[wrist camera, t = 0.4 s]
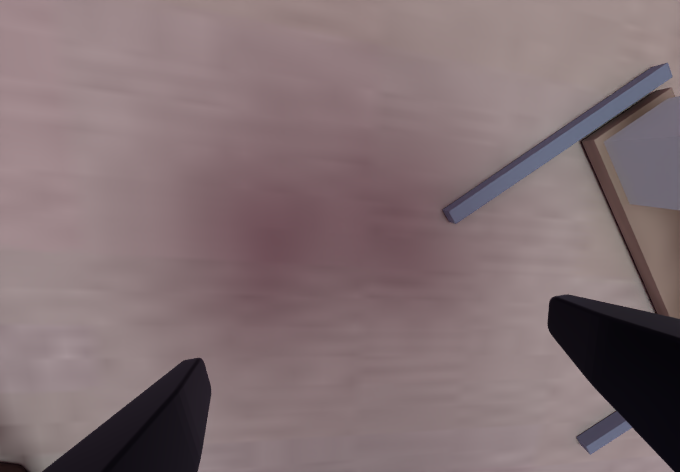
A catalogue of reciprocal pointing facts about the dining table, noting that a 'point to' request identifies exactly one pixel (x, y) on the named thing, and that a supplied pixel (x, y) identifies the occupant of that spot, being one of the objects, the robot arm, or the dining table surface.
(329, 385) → the dining table surface
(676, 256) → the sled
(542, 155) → the lane rails
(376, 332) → the dining table surface
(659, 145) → the light blue-gray cube
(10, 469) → the beer bottle
